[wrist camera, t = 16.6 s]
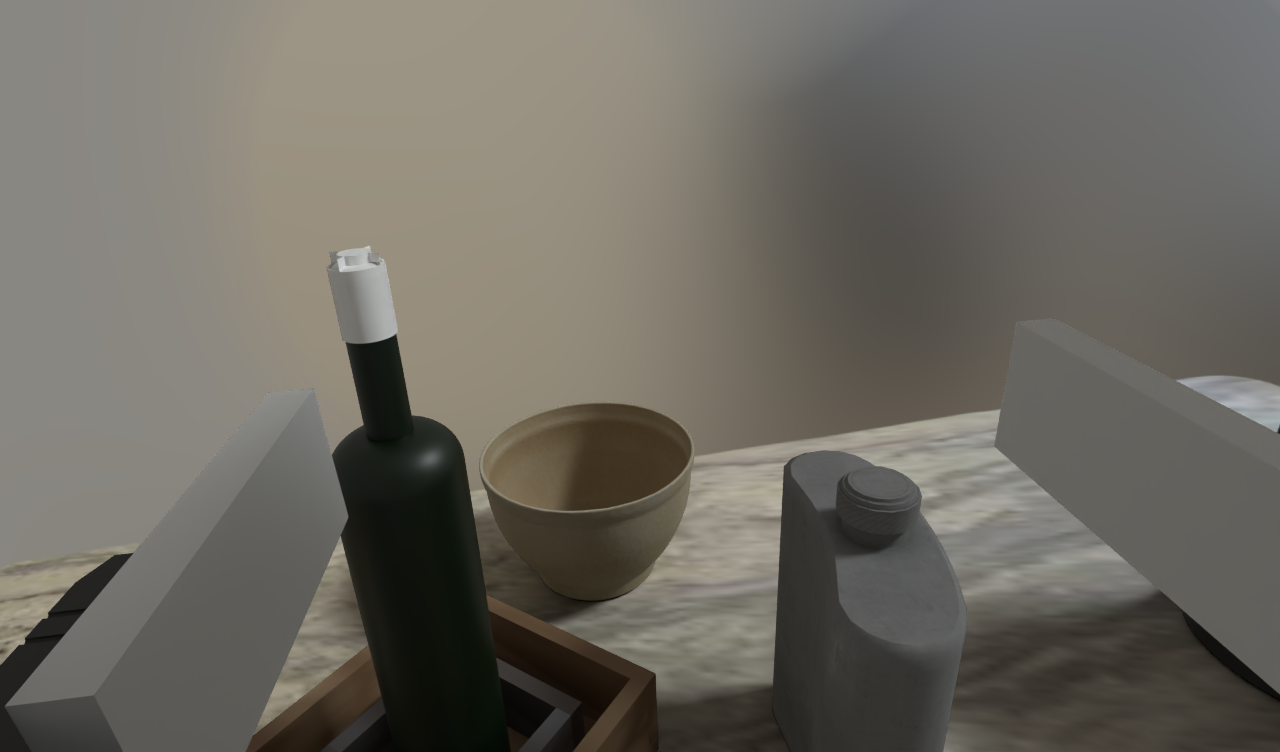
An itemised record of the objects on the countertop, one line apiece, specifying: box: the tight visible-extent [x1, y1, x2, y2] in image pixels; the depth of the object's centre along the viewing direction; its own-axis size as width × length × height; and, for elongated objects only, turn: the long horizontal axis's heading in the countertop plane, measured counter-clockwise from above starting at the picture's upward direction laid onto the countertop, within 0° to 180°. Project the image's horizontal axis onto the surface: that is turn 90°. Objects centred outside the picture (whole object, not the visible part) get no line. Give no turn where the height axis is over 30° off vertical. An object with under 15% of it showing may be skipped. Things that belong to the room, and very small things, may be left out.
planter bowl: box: [479, 402, 694, 601], centre depth 56 cm, size 16×16×11 cm
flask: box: [772, 450, 967, 752], centre depth 35 cm, size 15×6×20 cm, turn 0°
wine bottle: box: [327, 246, 511, 752], centre depth 33 cm, size 6×6×30 cm
